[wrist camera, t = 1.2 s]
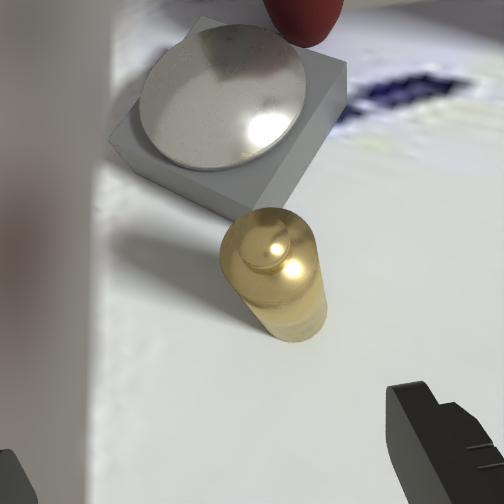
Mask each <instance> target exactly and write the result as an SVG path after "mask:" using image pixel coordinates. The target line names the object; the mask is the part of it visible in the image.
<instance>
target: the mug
mask: <svg viewBox="0 0 504 504" xmlns="http://www.w3.org/2000/svg"><path fill="white" fill-rule="evenodd" d="M343 1H344V0H263V2H264V4H265V7H266V9H267V11H268V14H269V16H270V18H271V20H272V22H273V24H274V25H275V27H276V28H277V29H278V31H279V32H280V33H281V34H282V35H283V36H284V37H285V38H287V39H288V40H289V41H290V42H291V43H292V44H294V45H296V46H299V47H312V46H315V45H317V44H319V43H321V42H322V41H323V40H324V39H325V38H326V37H327V36H328V34H329V33H330V31H331V29H332V28H333V26H334V25H335V23H336V21H337V19H338V17H339V15H340V12H341V9H342V5H343Z"/></svg>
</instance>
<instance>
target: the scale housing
mask: <svg viewBox="0 0 504 504" xmlns="http://www.w3.org/2000/svg"><path fill="white" fill-rule="evenodd" d="M225 25H230V24H226V23H223V22H220V21H217V20H214V19H211V18H208V17H205V16H201V17H200V18H199V20H198V21H197V22H196V24H195V25H194V26H193V28H192V29H191V30H190V32H189V33H188V34H187V36H186V37H185V38H184V39H186V38H188V37H190V36H192V35H194V34H196V33H199V32H201V31H204V30H207V29H211V28H214V27H219V26H225ZM290 45H291V46H292V47H293V48H294V49H295V51H296V52H297V54H298V55H299V57H300V59H301V62H302V64H303V68H304V72H305V79H306V89H307V91H306V101H305V106H304V109H303V112H302V115H301V117H300V119H299V121H298V123H297V125H296V126H295V128H294V129H293V131H292V132H291V133H290V135H289V136H288V137H287V138H286V139H285V140H284V141H283V142H282V143H281V144H280V145H279V146H278V147H277V148H275V149H274V150H273V151H272V152H270V153H269V154H267V155H266V156H264V157H262V158H260V159H259V160H257V161H255V162H253V163H250V164H247V165H245V166H242V167H239V168H235V169H231V170H224V171H209V172H207V171H197V170H193V169H188V168H185V167H182V166H180V165H177V164H175V163H174V162H172V161H170V160H168V159H167V158H166V157H165V156H163V155H162V154H161V153H160V152H159V151H158V150H157V149H156V148H155V146H154V145H153V143H152V142H151V140H150V139H149V137H148V136H147V134H146V132H145V130H144V128H143V126H142V122H141V118H140V109H139V106H140V98H139V99H138V101H137V102H136V103H135V105H134V106H133V107H132V109H131V110H130V111H129V113H128V114H127V115H126V117H125V118H124V119H123V121H122V122H121V123H120V125H119V126H118V127H117V129H116V130H115V131H114V133H113V134H112V135H111V137H110V138H109V139H108V141H109V142H110V143H111V144H112V146H113V147H114V148H115V149H116V151H117V152H118V153H119V154H120V155H121V157H122V158H123V159H124V160H125V161H126V163H127V164H128V165H129V166H130V168H131V169H132V170H133V171H134V172H135V173H137V174H139V175H141V176H143V177H145V178H147V179H149V180H151V181H153V182H155V183H157V184H159V185H161V186H163V187H165V188H167V189H169V190H171V191H173V192H175V193H177V194H179V195H181V196H183V197H185V198H187V199H189V200H191V201H193V202H195V203H197V204H199V205H201V206H203V207H206V208H208V209H210V210H212V211H214V212H216V213H218V214H220V215H222V216H224V217H226V218H228V219H230V220H232V221H234V222H235V221H236V220H237V219H239V218H240V217H241V216H243V215H244V214H246V213H248V212H250V211H253V210H256V209H260V208H266V207H276V208H283V206H284V204H285V203H286V201H287V200H288V198H289V196H290V195H291V193H292V192H293V190H294V188H295V187H296V185H297V184H298V182H299V180H300V179H301V177H302V176H303V174H304V172H305V171H306V169H307V168H308V166H309V164H310V163H311V161H312V160H313V158H314V156H315V155H316V153H317V152H318V150H319V148H320V147H321V145H322V144H323V142H324V140H325V139H326V137H327V135H328V134H329V132H330V131H331V129H332V127H333V126H334V124H335V123H336V121H337V119H338V118H339V116H340V115H341V113H342V111H343V110H344V108H345V107H346V105H347V62H345V61H342V60H339V59H336V58H332V57H329V56H326V55H323V54H320V53H317V52H314V51H311V50H308V49H304V48H301V47H298V46H295V45H292V44H290Z"/></svg>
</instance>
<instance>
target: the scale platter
mask: <svg viewBox="0 0 504 504" xmlns="http://www.w3.org/2000/svg"><path fill="white" fill-rule="evenodd" d="M306 91H307V89H306V79H305V72H304V68H303V64H302V62H301V59H300V57H299V55H298V54H297V52H296V51H295V49H294V48H293V47H292V46H291V45H290V44H289V43H288V42H287V41H286V40H285V39H283V38H282V37H281V36H279V35H277V34H275V33H274V32H272V31H269V30H266V29H264V28H260V27H256V26H250V25H225V26H219V27H214V28H211V29H207V30H204V31H201V32H199V33H196V34H194V35H192V36H190V37H188V38H186V39H184V40H183V41H181V42H180V43H178V44H176V45H175V46H174V47H173V48H171V49H170V50H169V51H168V52H167V53H166V54H165V55H163V56H162V57H161V59H160V60H159V61H158V62H157V63H156V64H155V66H154V67H153V69H152V70H151V72H150V73H149V75H148V77H147V79H146V81H145V83H144V86H143V89H142V92H141V97H140V106H139V109H140V118H141V122H142V126H143V128H144V130H145V132H146V134H147V136H148V137H149V139H150V140H151V142H152V143H153V145H154V146H155V148H156V149H157V150H158V151H159V152H160V153H161V154H162V155H163V156H165V157H166V158H167V159H168V160H170V161H172V162H174V163H175V164H177V165H180V166H182V167H185V168H188V169H193V170H197V171H207V172H209V171H224V170H231V169H235V168H239V167H242V166H245V165H247V164H250V163H253V162H255V161H257V160H259V159H260V158H262V157H264V156H266V155H267V154H269V153H270V152H272V151H273V150H274V149H275V148H277V147H278V146H279V145H280V144H281V143H282V142H283V141H284V140H285V139H286V138H287V137H288V136H289V135H290V133H291V132H292V131H293V129H294V128H295V126H296V125H297V123H298V121H299V119H300V117H301V115H302V112H303V109H304V106H305V101H306Z"/></svg>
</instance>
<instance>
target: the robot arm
mask: <svg viewBox="0 0 504 504" xmlns="http://www.w3.org/2000/svg"><path fill="white" fill-rule="evenodd" d="M386 443H387V448H388V452H389V456H390V459H391V462H392V465H393V468H394V470H395V472H396V475H397V477H398V479H399V482H400V484H401V486H402V489H403V491H404V493H405V496H406V498H407V500H408V503H409V504H504V458H503V456H502V455H501V453H500V452H499V451H498V449H497V448H496V447H494V445H493V442H492V440H491V439H490V437H489V436H488V435H487V433H486V432H485V430H484V429H483V427H482V426H481V424H480V423H479V421H478V420H477V419H476V418H475V417H473V416H472V415H471V414H469V413H468V412H467V411H465V410H464V409H463V408H462V407H460V406H459V405H458V404H456V403H455V402H451V403H445V404H440V405H439V404H438V402H437V400H436V399H435V397H434V395H433V394H432V392H431V391H430V389H429V387H428V386H427V384H426V383H425V382H423V381H417V382H411V383H405V384H399V385H393V386H388V387H387V389H386ZM0 504H38V499H37V496H36V493H35V491H34V489H33V487H32V485H31V483H30V482H29V479H28V478H27V476H26V474H25V472H24V470H23V468H22V467H21V464H20V463H19V461H18V459H17V457H16V455H15V453H14V452H13V451H12V450H10V449H4V450H0Z"/></svg>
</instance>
